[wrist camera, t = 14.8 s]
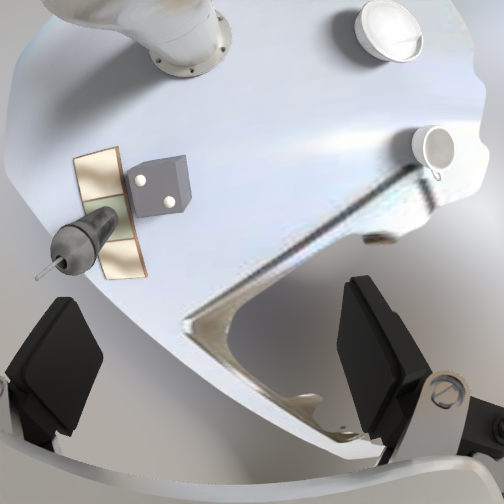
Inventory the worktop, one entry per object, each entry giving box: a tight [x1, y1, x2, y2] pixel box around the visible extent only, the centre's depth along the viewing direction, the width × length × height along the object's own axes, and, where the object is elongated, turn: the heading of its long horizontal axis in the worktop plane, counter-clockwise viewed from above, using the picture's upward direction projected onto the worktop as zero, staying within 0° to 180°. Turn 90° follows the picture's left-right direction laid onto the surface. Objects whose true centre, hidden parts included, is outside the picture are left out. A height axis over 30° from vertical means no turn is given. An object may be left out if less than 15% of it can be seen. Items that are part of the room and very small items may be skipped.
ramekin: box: [354, 0, 423, 63], centre depth 29 cm, size 11×11×5 cm
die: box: [127, 155, 192, 218], centre depth 39 cm, size 7×7×7 cm
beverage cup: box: [35, 206, 119, 281], centre depth 35 cm, size 7×7×20 cm
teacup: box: [412, 125, 456, 181], centre depth 38 cm, size 10×8×5 cm
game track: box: [73, 146, 148, 280], centre depth 44 cm, size 24×9×1 cm, turn 5°
